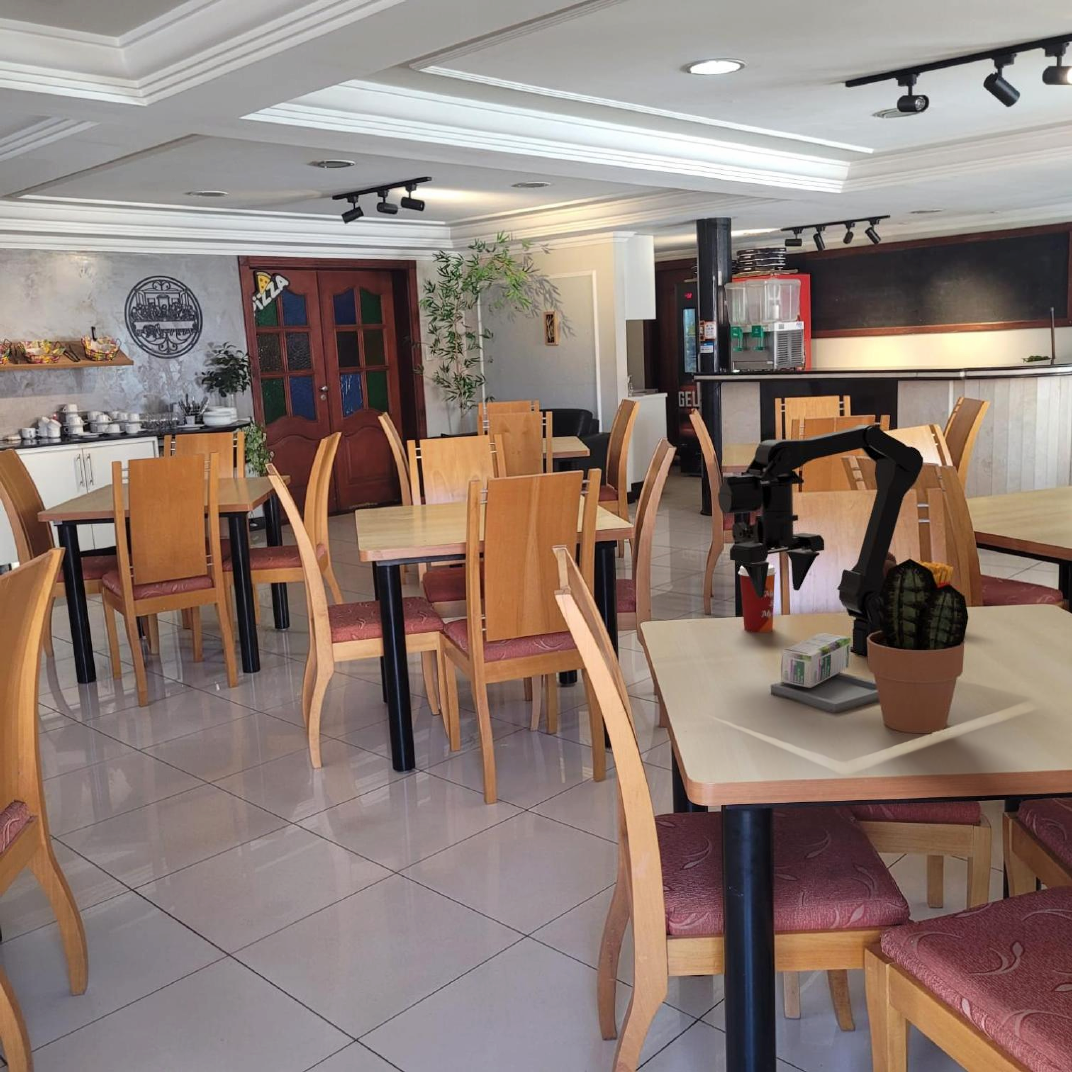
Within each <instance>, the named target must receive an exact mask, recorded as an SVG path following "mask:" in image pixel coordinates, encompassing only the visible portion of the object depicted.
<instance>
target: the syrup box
mask: <svg viewBox="0 0 1072 1072" xmlns="http://www.w3.org/2000/svg"><path fill="white" fill-rule="evenodd" d="M850 647H851V637H849V636H844V635H837V634H831V633H825V632H820V633H818V634H816V635H813V636H811V637H809V638H807V639H806V638H805V639H804V640H802V641H801V642H798V643H795V644H794V645H793V644H792V645H791V646H789V647H787V648H784V649H782V650H781V665H780V673H781V674H780V682H784V683H789V684H794V685H799V686H804V687H809V688H811V687H813V686H815V685H817V684H819V683H821V682H823V681H824V680H826V679H828V678H830V677H832V676H834V675H836V674H838V673H842V672H843V671H845V670H846V671H847V670H848V669H850V663H851V662H850V661H851V651H850Z"/></svg>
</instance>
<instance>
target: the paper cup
mask: <svg viewBox="0 0 1072 1072" xmlns="http://www.w3.org/2000/svg"><path fill="white" fill-rule="evenodd" d="M775 569H776V568H775V566H774V565H772V564H769V567H768V573H767V579H766V586H765V592H764V596H763V598H758V597H757V595H756V592H755V590H754V587H753V584H752V582H751V579H750V577H749V575H748V573H747V571H746V569H745V568H744V567H743V566H742V565H741V566H740V567H739V571H738V572H737V573H738V575H739V579H740V593H741V603H742V604H741V605H742V618H743V619H742V620H743V628H744V630H745V631H747V632H750V633H767V632H768V633H769V632H771V631H773V628H774V627H773V626H774V624H773V623H774V604H775V582H776V581H775V578H776V574H777V571H776V570H775Z"/></svg>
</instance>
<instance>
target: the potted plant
mask: <svg viewBox="0 0 1072 1072" xmlns="http://www.w3.org/2000/svg"><path fill="white" fill-rule="evenodd" d="M915 561H916V560H913V559H911V558H908V559H906V560H904V561H903V562H900V563H899V564H897V565H896V566H894V567H893V568H891V569H889V570H888V572H887V575H886V577H885V580H884V583H883V586H882V588H881V591H880V594H879V615H880V628H881V630H882V631H878V632H875V633H872V634H870V635H869V636H868V637H867V649H868V655H867V663H868V664H867V665H868V670H869V672H871V673H872V674H873V677H874V682H876V687H877V692H878V696H879V701H878V702H879V705H880V710H881V715H882V719H883V723H884V725H885V726H887V727H888V728H889V729H892V730H894V731H898V732H902V733H906V734H907V733H910V734H931V733H932V734H933V733H936V732H941V730H942V731H943V730H944V729H945V728H946V726H947V724H948V721H949V715H950V710H951V706H952V702H953V698H954V693H955V688H956V685H957V680H958V678H959V677H960V676H961V675H962V674H963V670H964V658H965V657H964V654H965V637H966V631H967V626H968V622H969V614H968V608H967V607H968V606H967V603H966V596H965V595H964V594H963V593H961V592H960V591H959V590H957V589H956V588H955V587H954V586H953V585H951V584H947V585H945V586H942V587H939V588H938V587H937V584H936V582H935V579H934V576H933V574H932V571H931V570H929V569H928V568H926V567H924V566H923V565H921V564H919V563H917V562H915Z"/></svg>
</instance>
